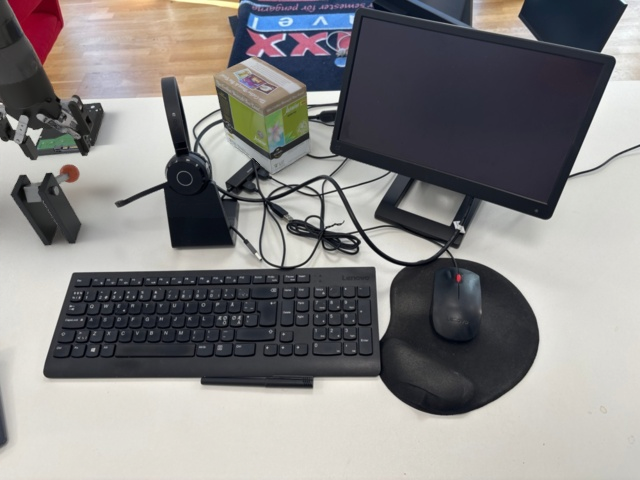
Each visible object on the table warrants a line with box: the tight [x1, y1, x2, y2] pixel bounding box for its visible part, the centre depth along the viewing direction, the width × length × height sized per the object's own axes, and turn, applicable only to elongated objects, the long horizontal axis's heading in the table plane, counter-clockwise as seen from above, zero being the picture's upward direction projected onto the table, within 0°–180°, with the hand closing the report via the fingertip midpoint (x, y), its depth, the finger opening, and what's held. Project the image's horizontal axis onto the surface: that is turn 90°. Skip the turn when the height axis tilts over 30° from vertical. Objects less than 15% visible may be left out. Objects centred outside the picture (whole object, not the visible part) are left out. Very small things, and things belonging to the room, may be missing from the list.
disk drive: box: [35, 102, 105, 157], centre depth 105 cm, size 10×3×15 cm
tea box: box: [213, 55, 311, 175], centre depth 96 cm, size 15×10×15 cm, turn 42°
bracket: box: [10, 172, 82, 246], centre depth 82 cm, size 10×8×13 cm
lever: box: [24, 163, 81, 202], centre depth 85 cm, size 15×3×3 cm, turn 4°
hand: (60, 155), depth 87 cm, fingers open, 8 cm apart
